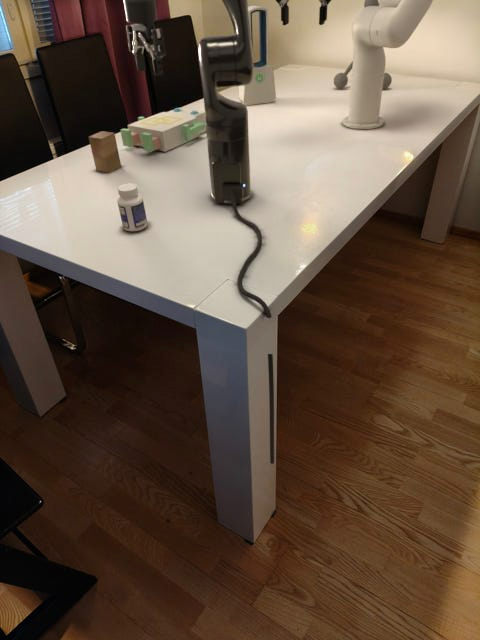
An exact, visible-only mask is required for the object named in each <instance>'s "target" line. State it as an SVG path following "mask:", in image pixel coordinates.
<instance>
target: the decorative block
mask: <svg viewBox="0 0 480 640" xmlns="http://www.w3.org/2000/svg"><path fill="white" fill-rule="evenodd" d="M203 133H206V122H205V111H201V110H195V109H189V108H182V107H175V108H174V109H170V110H169V111H162V112H161V111H160V112H158V113H156V114H154V115H151V116H148V117H146V118H145V116H138V117H137V121H134V122H131V123H129V124H127V128H124V127H123V128H121V129H120V135H121V141H122V146H123V147H128V148H131V147H134V146H137V147H141V148H143V151H145V152H153V151H160V152H164V153H165V152H168V151H170V150H172V149H174V148H177V147H179V146H182V145H183V144H186V143H188V142H190V141H192V140H194V139H197V138H199V137H200V135H201V134H203Z"/></svg>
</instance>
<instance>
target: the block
mask: <svg viewBox="0 0 480 640" xmlns="http://www.w3.org/2000/svg"><path fill="white" fill-rule="evenodd" d="M88 140H89V141H88V142H89V145H90V149H91V154H92V158H93V162H94V166H95V171H96V172H100V173H102V172H103V173H106V174H110V173H112V172H114V171H115V170H118V169H120V168H122V163H121V159H120V153H119V148H118V143H117V139H116V134H115V132H110V131H104V130H102V131H98V132H96V133H93V134H92V135H89V136H88Z"/></svg>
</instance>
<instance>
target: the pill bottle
mask: <svg viewBox="0 0 480 640" xmlns="http://www.w3.org/2000/svg"><path fill="white" fill-rule="evenodd" d="M117 193H118V196H119V197H118V199H117V206H118V210H119V211H118V212H119V215H120V219H121V224H122V227H123V229H124V230H125V231H128V232H138V231H141V230H144V229H146V227H147V226H148V217H147V214H146V208H145V203H144V198H143V196H142V195H141V194H139V188H138V185H137V184H135V183H132V182H131V183H123V184H121V185H119V186H118V187H117Z"/></svg>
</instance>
